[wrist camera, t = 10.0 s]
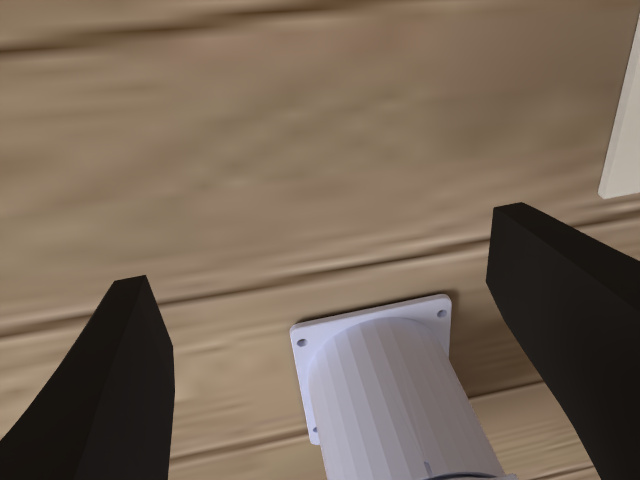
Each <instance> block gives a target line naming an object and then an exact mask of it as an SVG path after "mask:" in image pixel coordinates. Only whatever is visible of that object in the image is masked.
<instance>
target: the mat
mask: <svg viewBox="0 0 640 480" xmlns="http://www.w3.org/2000/svg"><path fill="white" fill-rule="evenodd" d="M639 192H640V15H639V19H638V24H637V28H636V32H635V36H634V41H633V45H632V49H631V54H630V58H629V62H628V66H627V71H626V75H625V79H624V83H623V88H622V92H621V96H620V100H619V105H618V109H617V113H616V118H615V122H614V126H613V130H612V135H611V139H610V143H609V147H608V152H607V156H606V160H605V164H604V169H603V173H602V177H601V181H600V186H599V190H598V194H599V195H600V196H601V197H602V198H603V199H608V198H613V197H618V196H623V195H628V194H633V193H639Z"/></svg>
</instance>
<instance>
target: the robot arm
mask: <svg viewBox="0 0 640 480" xmlns="http://www.w3.org/2000/svg"><path fill="white" fill-rule="evenodd" d="M486 283H487V285H488V288H489V290H490V292H491V294H492V296H493V298H494V301H495V303H496V305H497V307H498V309H499V311H500V313H501V315H502V317H503V319H504V321H505V322H506V324H507V326H508V327H509V329H510V330H511V332H512V333H513V335H514V336H515V338H516V339H517V341H518V342H519V344H520V346H521V347H522V349H523V350H524V352H525V353H526V355H527V356H528V358H529V359H530V361H531V362H532V364H533V365H534V366H535V368H536V369H537V371H538V372H539V374H540V375H541V377H542V378H543V380H544V381H545V383H546V384H547V386H548V387H549V389H550V390H551V392H552V393H553V395H554V396H555V398H556V399H557V401H558V402H559V404H560V405H561V407H562V408H563V410H564V412H565V413H566V415H567V417H568V418H569V420H570V422H571V423H572V425H573V427H574V428H575V430H576V432H577V434H578V436H579V438H580V440H581V442H582V444H583V445H584V447H585V449H586V451H587V453H588V455H589V457H590V459H591V461H592V462H593V464H594V466H595V468H596V470H597V472H598V474H599V476H600V478H601V480H640V261H638V260H636V259H634V258H632V257H630V256H628V255H626V254H624V253H621V252H619V251H617V250H615V249H613V248H611V247H609V246H607V245H605V244H603V243H601V242H599V241H597V240H595V239H594V238H592V237H590V236H588V235H586V234H584V233H582V232H580V231H578V230H576V229H574V228H572V227H570V226H569V225H567V224H565V223H563V222H561V221H559V220H557V219H555V218H553V217H551V216H549V215H547V214H545V213H543V212H541V211H539V210H538V209H535V208H533V207H531V206H529V205H527V204H525V203H522V202H520V203H514V204H509V205H504V206H499V207H494V209H493V219H492V228H491V238H490V247H489V256H488V266H487V275H486ZM451 309H452V302H451V300H450V298H449V296H448V295H446V294H438V295H433V296H428V297H423V298H418V299H414V300H409V301H404V302H399V303H394V304H389V305H384V306H379V307H375V308H370V309H365V310H360V311H355V312H350V313H345V314H341V315H336V316H331V317H326V318H321V319H316V320H311V321H307V322H302V323H298V324H295V325H293V326H292V327H291V329H290V337H291V342H292V347H293V353H294V358H295V363H296V368H297V374H298V379H299V384H300V389H301V395H302V400H303V405H304V410H305V416H306V421H307V426H308V431H309V437H310V441H311V443H312V444H314V445H320V446H321V451H322V455H323V460H324V465H325V470H326V474H327V479H328V480H518V478H517V476H516V474H513V473H512V474H508V475H506V474H505V472H504V470H503V468H502V466H501V464H500V462H499V460H498V458H497V456H496V454H495V452H494V450H493V448H492V446H491V444H490V442H489V440H488V438H487V436H486V434H485V432H484V430H483V428H482V426H481V424H480V422H479V420H478V418H477V416H476V414H475V412H474V410H473V408H472V406H471V404H470V402H469V400H468V398H467V396H466V394H465V392H464V390H463V388H462V386H461V383H460V381H459V379H458V377H457V375H456V373H455V371H454V369H453V367H452V365H451V363H450V361H449V344H450V327H451ZM440 310H442V311H441V312H439V311H440ZM301 339H305V340H302V341H299V340H301ZM174 398H175V379H174V357H173V345H172V342H171V340H170V337H169V334H168V332H167V329H166V327H165V324H164V321H163V319H162V316H161V313H160V311H159V308H158V306H157V303H156V300H155V298H154V295H153V292H152V290H151V287H150V285H149V282H148V279H147V277H146V275H142V276H137V277H132V278H127V279H122V280H116V281H114V282H113V284H112V285H111V287H110V288H109V290H108V291H107V293H106V294H105V296H104V297H103V299H102V301H101V302H100V304H99V305H98V307H97V309H96V310H95V312H94V313H93V315H92V317H91V318H90V320H89V321H88V323H87V324H86V326H85V328H84V329H83V331H82V332H81V334H80V335H79V337H78V338H77V340H76V341H75V343H74V344H73V346H72V347H71V349H70V350H69V352H68V353H67V355H66V356H65V358H64V359H63V361H62V362H61V364H60V365H59V367H58V368H57V369H56V371H55V372H54V374H53V375H52V376H51V378H50V379H49V380H48V382H47V383H46V384H45V386H44V387H43V388H42V390H41V391H40V392H39V394H38V395H37V396H36V398H35V399H34V400H33V402H32V403H31V404H30V406H29V407H28V408H27V410H26V411H25V412H24V413H23V415H22V416H21V417H20V418H19V420H18V421H17V422H16V423H15V425H14V426H13V427H12V428H11V429H10V430H9V432H8V433H7V434H6V435H5V436H4V437H3V438H2V440H1V441H0V480H168V469H169V458H170V446H171V435H172V423H173V411H174Z"/></svg>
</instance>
